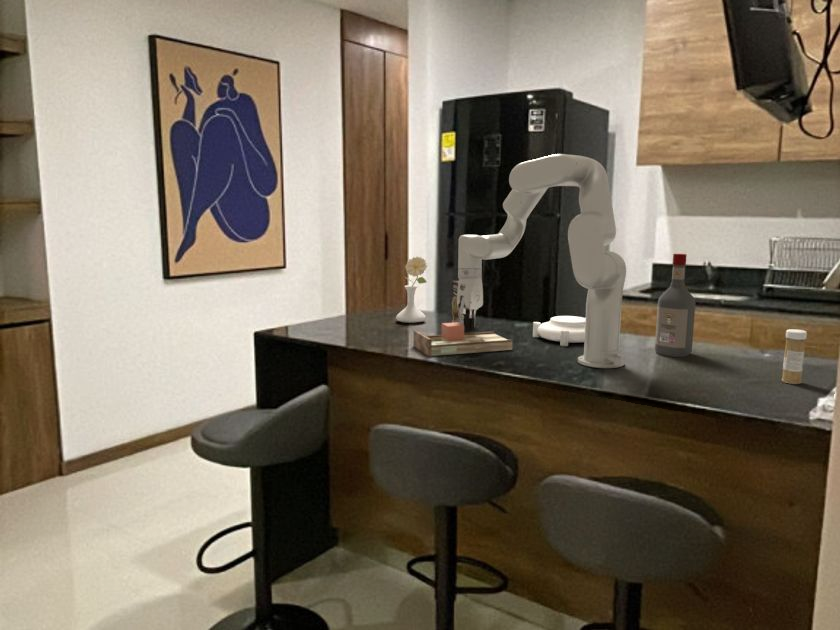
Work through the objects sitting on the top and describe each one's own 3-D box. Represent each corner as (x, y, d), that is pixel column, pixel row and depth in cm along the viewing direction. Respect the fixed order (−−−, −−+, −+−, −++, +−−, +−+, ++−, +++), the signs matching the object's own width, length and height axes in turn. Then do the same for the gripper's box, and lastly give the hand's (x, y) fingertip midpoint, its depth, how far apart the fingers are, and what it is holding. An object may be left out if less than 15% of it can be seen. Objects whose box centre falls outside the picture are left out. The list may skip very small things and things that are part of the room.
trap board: (512, 349, 204) (512, 333, 203) (428, 356, 195) (428, 339, 194) (493, 340, 217) (493, 325, 216) (413, 346, 208) (413, 330, 207)
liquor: (681, 358, 193) (689, 255, 188) (651, 353, 199) (658, 254, 194) (694, 353, 200) (701, 254, 195) (664, 348, 206) (671, 252, 201)
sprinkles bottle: (784, 378, 171) (789, 328, 169) (803, 382, 168) (809, 330, 166) (778, 382, 168) (784, 330, 166) (798, 385, 165) (804, 332, 163)
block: (464, 339, 206) (464, 325, 206) (447, 340, 205) (447, 326, 204) (457, 336, 212) (457, 322, 211) (441, 337, 210) (441, 323, 209)
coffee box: (450, 323, 247) (451, 280, 244) (466, 322, 249) (467, 280, 246) (459, 328, 239) (459, 283, 236) (475, 327, 241) (476, 283, 238)
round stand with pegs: (525, 344, 213) (526, 322, 212) (538, 330, 236) (539, 311, 234) (602, 350, 205) (603, 327, 204) (608, 335, 228) (609, 315, 226)
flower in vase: (389, 322, 249) (389, 256, 244) (408, 318, 258) (408, 254, 253) (417, 326, 241) (417, 258, 237) (435, 322, 250) (436, 256, 245)
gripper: (469, 276, 204) (468, 334, 207) (490, 272, 216) (489, 327, 219) (448, 274, 208) (447, 332, 211) (470, 270, 220) (469, 324, 223)
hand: (468, 329), depth 215 cm, fingers closed
